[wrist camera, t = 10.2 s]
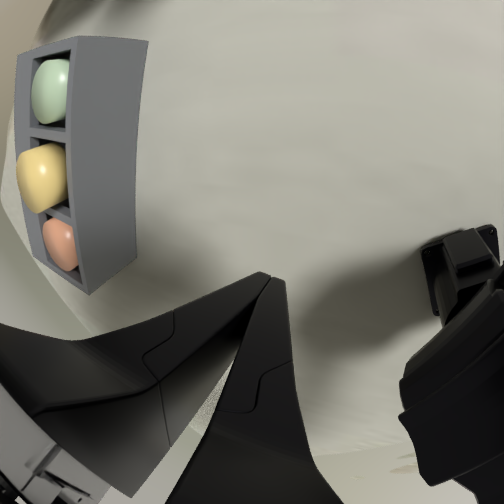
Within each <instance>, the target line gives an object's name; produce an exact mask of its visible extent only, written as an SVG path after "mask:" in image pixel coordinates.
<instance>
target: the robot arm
mask: <svg viewBox="0 0 504 504" xmlns="http://www.w3.org/2000/svg"><path fill="white" fill-rule="evenodd" d="M490 230H493V231H492V233H491V234H489V231H490ZM425 251H430V252H429V254H424V253H425ZM421 257H422V261H423V265H424V270H425V274H426V279H427V284H428V289H429V294H430V299H431V305H432V311H433V314H434V315H435V316H440V319H441V324H442V330H440V331H439V332H438V333H437V334H436V335H435V336H434V337H433V338H432V339H431V340H430V341H429V342H428V343H427V344H426V345H424V346H423V347H422V348H421V349H420V350H419V351H418V352H417V353H415V354H414V355H413V356H412V357H411V358H410V360H409V361H408V362H407V363H406V366H405V371H404V374H403V378H402V379H401V380H400V381H399V388H400V398H401V402H402V406H403V408H404V412H403V413H401V414H399V416H398V419H399V421H400V422H401V423H402V425H403V426H404V427H405V429H406V430H407V432H408V434H409V436H410V438H411V440H412V442H413V445H414V448H415V452H416V457H417V462H418V468H419V473H420V475H421V476H422V478H423V479H424V480H425V481H426V483H427V484H428V485H429V486H436V485H438V484H441V483H443V482H446V481H448V480H451V479H452V480H454V481H455V482H457V483H458V484H460V485H461V486H463V487H464V488H466V489H467V490H469V491H471V492H472V493H473V494H474V495H475V498H476V500H477V503H478V504H504V261H503V265H502V266H500V257H499V245H498V236H497V230H496V228H495V227H494V226H493V225H491V224H490V225H486V226H483V227H480V228H477V229H474V228H471V229H468V230H465V231H462V232H459V233H456V234H453V235H450V236H447V237H445V238H444V239H443V240H441V241H437V242H434V243H431V244H428V245H425V246H423V247H422V248H421ZM437 309H439V310H438V311H436V310H437ZM234 358H235V359H234ZM233 360H234V362H233V364H232V367H231V369H230V372H229V375H228V377H227V380H226V382H225V385H224V387H223V390H222V393H221V395H220V398H219V400H218V403H217V405H216V408H215V411H214V413H213V415H212V418H211V420H210V423H209V425H208V427H207V429H206V431H205V433H204V435H203V437H202V439H201V441H200V443H199V444H198V446H197V448H196V450H195V452H194V453H193V455H192V457H191V459H190V461H189V462H188V464H187V466H186V468H185V469H184V471H183V473H182V475H181V476H180V478H179V480H178V482H177V484H176V485H175V487H174V489H173V490H172V492H171V494H170V495H169V497H168V499H167V501H166V502H165V504H344V503H343V502H342V501H341V499H340V498H339V497H338V496H337V495H336V493H335V492H334V491H333V489H332V488H331V486H330V485H329V484H328V483H327V481H326V480H325V479H324V477H323V476H322V474H321V473H320V472H319V470H318V469H317V467H316V465H315V463H314V461H313V458H312V455H311V452H310V448H309V444H308V440H307V436H306V432H305V427H304V423H303V419H302V415H301V411H300V407H299V402H298V397H297V392H296V385H295V377H294V366H293V356H292V345H291V334H290V323H289V313H288V303H287V293H286V284H285V281H284V280H282V279H279V278H276V277H272V278H271V275H268V274H266V273H263V272H256V273H254V274H252V275H250V276H248V277H245V278H243V279H241V280H239V281H236V282H234V283H232V284H230V285H228V286H225V287H223V288H221V289H219V290H216V291H214V292H212V293H210V294H208V295H205V296H203V297H201V298H199V299H196V300H194V301H192V302H189V303H187V304H185V305H183V306H180V307H178V308H176V309H174V310H173V311H172V310H171V311H169V312H166V313H164V314H162V315H159V316H157V317H154V318H152V319H149V320H147V321H144V322H141V323H138V324H135V325H132V326H129V327H126V328H122V329H119V330H116V331H112V332H109V333H106V334H102V335H99V336H95V337H92V338H88V339H84V340H73V341H71V340H62V339H58V338H53V337H49V336H45V335H41V334H37V333H33V332H29V331H25V330H21V329H17V328H14V327H11V326H7V325H4V324H1V323H0V504H18V503H17V502H16V501H15V499H16V498H17V497H18V496H20V497H21V498H22V500H23V501H25V503H26V504H98V503H99V502H100V500H101V499H102V498H103V496H104V495H105V493H106V492H107V491H108V489H109V488H110V487H111V486H113V487H114V488H115V489H117V490H119V491H120V492H122V493H123V494H125V495H126V496H128V497H130V498H132V497H133V496H134V494H135V493H136V492H137V491H138V490H139V488H140V487H141V486H142V484H143V483H144V482H145V481H146V479H147V478H148V477H149V475H150V474H151V473H152V472H153V470H154V469H155V468H156V466H157V465H158V464H159V463H160V461H161V460H162V459H163V457H164V456H165V455H166V453H167V452H168V451H169V449H170V447H172V445H173V444H174V443H175V441H176V440H177V439H178V437H179V436H180V435H181V433H182V432H183V431H184V429H185V428H186V426H187V425H188V424H189V422H190V421H191V420H192V418H193V417H194V415H195V414H196V413H197V411H198V410H199V408H200V407H201V406H202V404H203V403H204V401H205V400H206V399H207V397H208V396H209V394H210V393H211V391H212V390H213V389H214V387H215V386H216V384H217V383H218V381H219V380H220V379H221V377H222V376H223V374H224V373H225V371H226V370H227V368H228V367H229V365H230V364H231V363H232V361H233Z"/></svg>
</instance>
